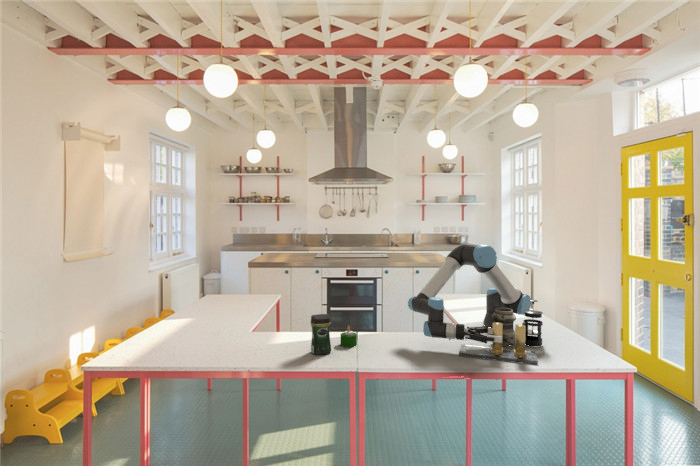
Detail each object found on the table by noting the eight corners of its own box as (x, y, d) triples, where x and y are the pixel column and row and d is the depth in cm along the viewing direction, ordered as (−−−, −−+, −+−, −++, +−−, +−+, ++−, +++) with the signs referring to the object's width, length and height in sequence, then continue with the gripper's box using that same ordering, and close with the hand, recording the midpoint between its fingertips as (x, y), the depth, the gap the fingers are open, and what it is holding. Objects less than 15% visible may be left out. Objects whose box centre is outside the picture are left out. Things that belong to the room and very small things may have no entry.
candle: (343, 341, 218) (343, 322, 218) (358, 343, 215) (358, 324, 215) (338, 346, 210) (338, 326, 210) (353, 348, 207) (353, 328, 207)
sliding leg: (491, 355, 192) (491, 326, 191) (491, 349, 200) (492, 321, 199) (502, 356, 190) (503, 327, 190) (502, 350, 198) (503, 322, 198)
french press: (532, 340, 220) (533, 297, 219) (547, 345, 211) (548, 300, 210) (516, 343, 215) (516, 299, 214) (530, 348, 207) (531, 302, 206)
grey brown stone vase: (504, 348, 207) (504, 312, 206) (485, 342, 217) (486, 308, 217) (520, 345, 212) (521, 310, 212) (502, 339, 223) (502, 305, 222)
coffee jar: (328, 349, 205) (328, 312, 205) (332, 354, 198) (332, 315, 197) (309, 351, 203) (309, 313, 202) (312, 356, 195) (312, 317, 194)
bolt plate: (458, 355, 196) (459, 324, 195) (461, 347, 209) (461, 317, 208) (537, 364, 184) (538, 330, 184) (535, 354, 197) (535, 323, 197)
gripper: (458, 332, 214) (501, 336, 207) (453, 346, 191) (502, 351, 184) (458, 318, 214) (502, 321, 207) (453, 330, 191) (502, 334, 184)
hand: (502, 335), depth 195 cm, fingers open, 13 cm apart
